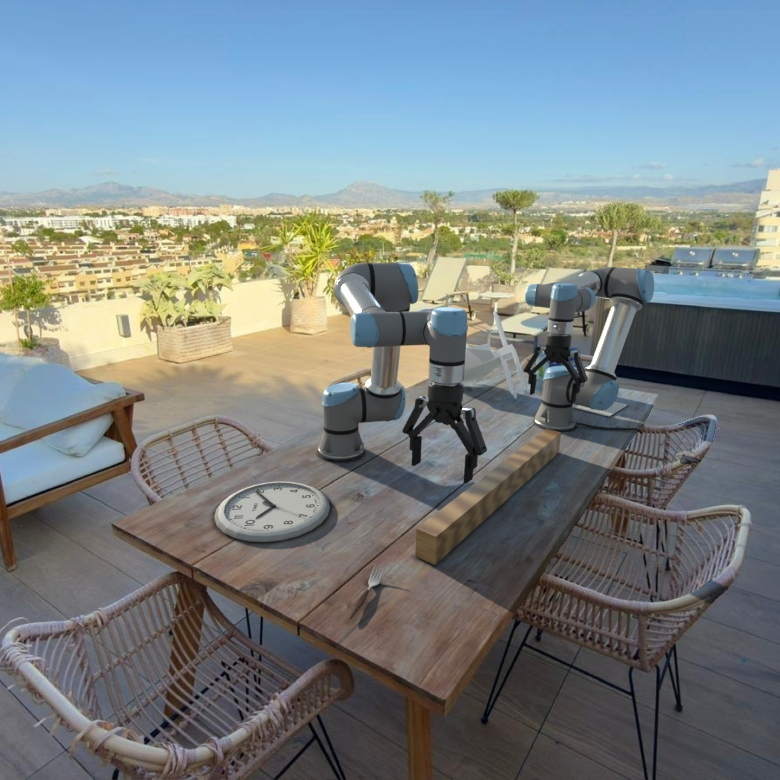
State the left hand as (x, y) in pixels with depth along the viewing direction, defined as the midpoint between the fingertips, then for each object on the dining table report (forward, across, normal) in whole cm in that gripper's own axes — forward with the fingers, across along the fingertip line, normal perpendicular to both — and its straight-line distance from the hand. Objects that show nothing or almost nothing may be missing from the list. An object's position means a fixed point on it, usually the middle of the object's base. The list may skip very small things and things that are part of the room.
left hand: (441, 472), depth 117 cm
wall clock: (+20, -44, -12) cm, 50 cm away
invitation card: (+21, 0, +134) cm, 135 cm away
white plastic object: (+21, -51, +118) cm, 130 cm away
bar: (+20, 0, +35) cm, 40 cm away
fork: (+20, -3, -23) cm, 31 cm away
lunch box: (+21, -24, +144) cm, 148 cm away
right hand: (0, 0, +69) cm, 69 cm away
